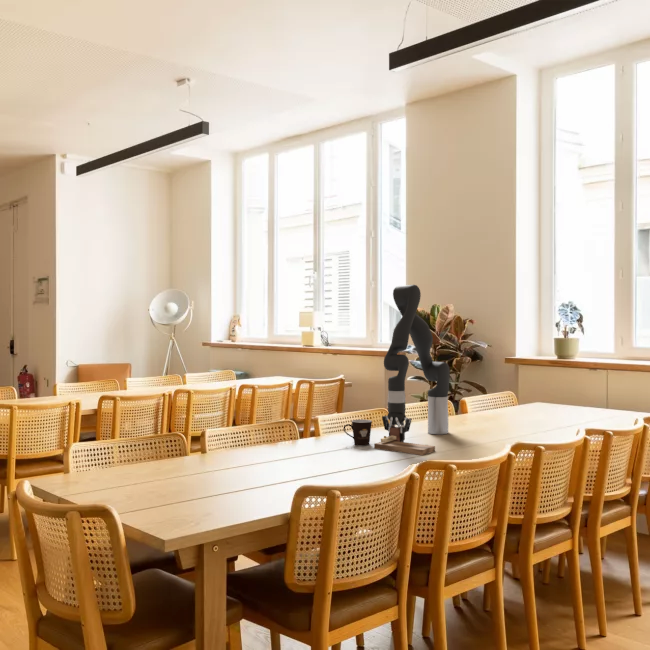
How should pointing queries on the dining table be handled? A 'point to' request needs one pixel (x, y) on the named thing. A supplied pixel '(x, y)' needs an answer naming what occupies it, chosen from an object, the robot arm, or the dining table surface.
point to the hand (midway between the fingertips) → (396, 440)
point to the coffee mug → (360, 431)
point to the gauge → (392, 435)
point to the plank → (405, 447)
